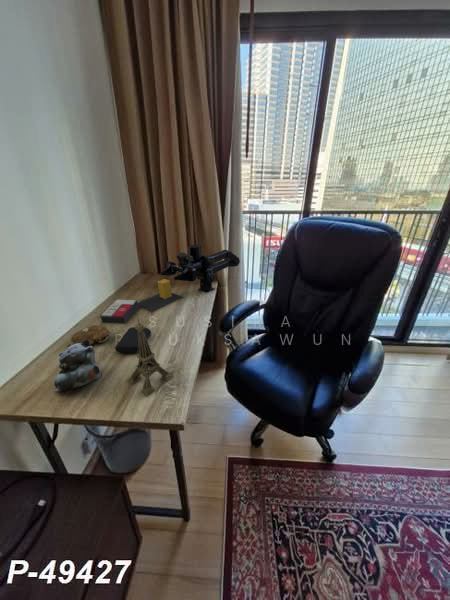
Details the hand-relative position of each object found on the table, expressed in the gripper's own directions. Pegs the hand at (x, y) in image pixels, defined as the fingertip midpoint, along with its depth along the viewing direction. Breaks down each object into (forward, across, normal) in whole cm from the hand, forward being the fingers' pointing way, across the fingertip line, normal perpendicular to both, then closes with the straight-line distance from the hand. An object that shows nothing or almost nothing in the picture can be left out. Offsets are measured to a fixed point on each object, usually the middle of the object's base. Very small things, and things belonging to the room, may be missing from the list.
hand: (167, 276), depth 117 cm
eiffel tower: (+36, +32, +17) cm, 51 cm away
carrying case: (+28, +11, +17) cm, 34 cm away
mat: (0, -10, +16) cm, 19 cm away
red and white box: (+19, -14, +17) cm, 29 cm away
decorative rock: (+37, -5, +17) cm, 41 cm away
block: (-5, -11, +16) cm, 20 cm away
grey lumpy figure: (+51, +14, +17) cm, 55 cm away
